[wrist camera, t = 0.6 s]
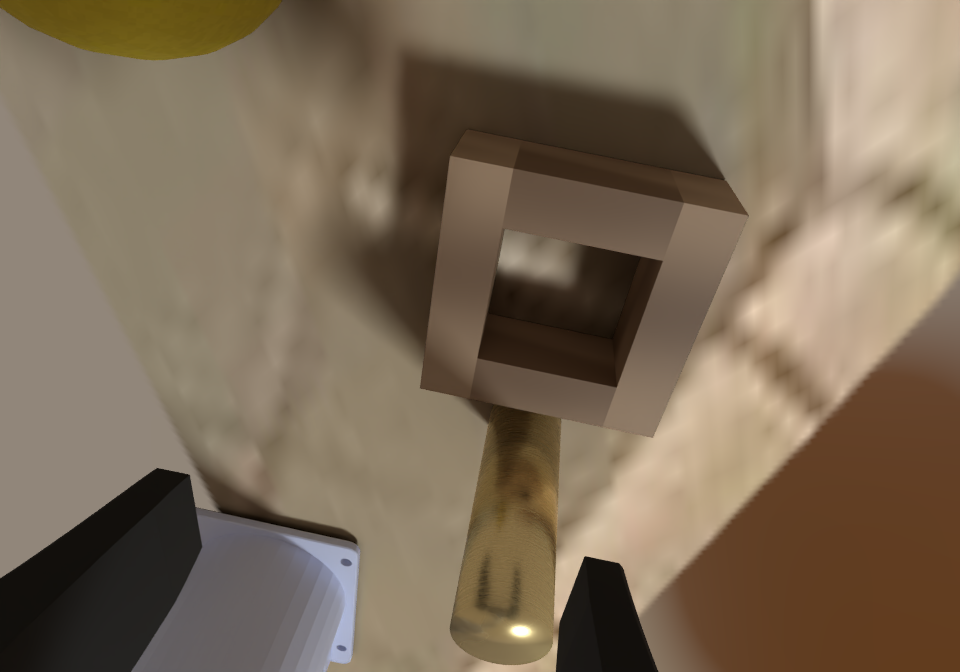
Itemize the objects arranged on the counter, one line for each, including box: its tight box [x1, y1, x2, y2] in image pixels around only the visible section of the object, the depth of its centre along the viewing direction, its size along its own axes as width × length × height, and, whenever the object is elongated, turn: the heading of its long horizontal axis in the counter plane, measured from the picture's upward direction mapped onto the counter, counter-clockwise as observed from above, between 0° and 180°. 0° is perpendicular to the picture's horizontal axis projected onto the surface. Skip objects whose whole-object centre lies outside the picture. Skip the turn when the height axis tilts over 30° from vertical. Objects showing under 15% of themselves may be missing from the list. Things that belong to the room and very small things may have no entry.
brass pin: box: [450, 404, 561, 665], centre depth 18 cm, size 2×2×8 cm
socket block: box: [420, 129, 749, 438], centre depth 17 cm, size 7×7×2 cm
